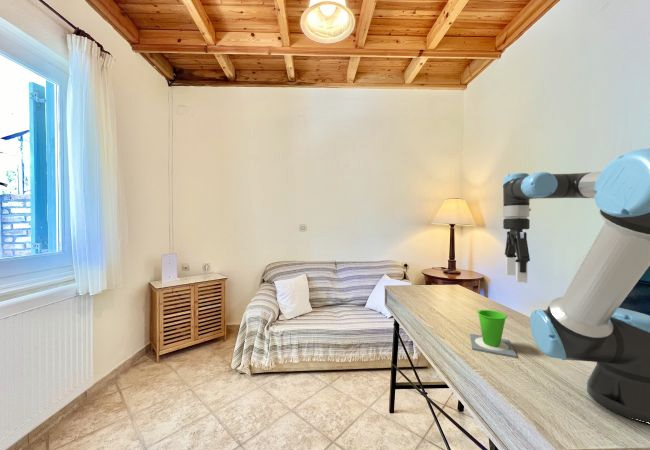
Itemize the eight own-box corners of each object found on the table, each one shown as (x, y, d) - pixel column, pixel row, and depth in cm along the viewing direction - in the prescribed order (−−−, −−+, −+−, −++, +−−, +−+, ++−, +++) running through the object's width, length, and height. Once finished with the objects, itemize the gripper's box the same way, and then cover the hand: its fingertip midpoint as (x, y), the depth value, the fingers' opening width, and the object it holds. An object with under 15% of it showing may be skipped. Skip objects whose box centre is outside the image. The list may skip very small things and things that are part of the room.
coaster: (516, 357, 88) (516, 355, 88) (472, 349, 94) (472, 347, 94) (509, 341, 100) (509, 339, 100) (469, 335, 105) (469, 333, 105)
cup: (511, 351, 91) (511, 319, 91) (482, 348, 93) (482, 317, 93) (499, 339, 100) (500, 310, 100) (473, 337, 102) (473, 308, 102)
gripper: (542, 216, 80) (542, 286, 80) (518, 218, 103) (518, 273, 103) (513, 217, 83) (513, 284, 83) (496, 219, 106) (496, 271, 106)
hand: (516, 278), depth 93 cm, fingers open, 13 cm apart
